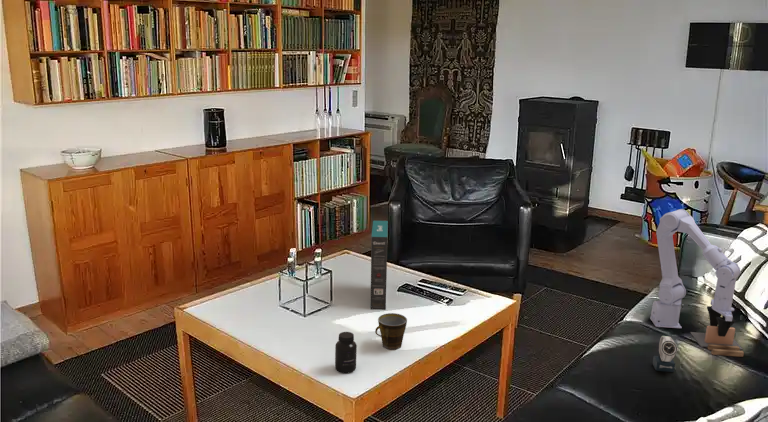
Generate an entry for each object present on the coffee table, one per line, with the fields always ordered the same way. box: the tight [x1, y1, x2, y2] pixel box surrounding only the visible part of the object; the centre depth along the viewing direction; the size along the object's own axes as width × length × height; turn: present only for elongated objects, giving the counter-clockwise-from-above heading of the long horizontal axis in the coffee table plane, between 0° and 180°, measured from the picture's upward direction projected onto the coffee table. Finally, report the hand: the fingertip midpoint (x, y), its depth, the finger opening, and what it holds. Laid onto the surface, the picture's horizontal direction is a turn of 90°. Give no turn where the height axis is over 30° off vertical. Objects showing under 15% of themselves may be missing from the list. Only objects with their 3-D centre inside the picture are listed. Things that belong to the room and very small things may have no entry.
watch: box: [652, 335, 679, 373], centre depth 205 cm, size 6×8×11 cm
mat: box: [689, 331, 744, 351], centre depth 227 cm, size 14×11×1 cm
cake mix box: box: [370, 220, 389, 311], centre depth 254 cm, size 22×6×30 cm, turn 179°
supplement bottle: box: [334, 331, 358, 375], centre depth 201 cm, size 7×7×12 cm
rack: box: [707, 344, 745, 358], centre depth 218 cm, size 10×5×2 cm, turn 83°
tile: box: [705, 325, 736, 345], centre depth 224 cm, size 9×2×6 cm, turn 83°
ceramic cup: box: [374, 312, 408, 351], centre depth 216 cm, size 13×10×10 cm
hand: (717, 331), depth 226 cm, fingers open, 7 cm apart
